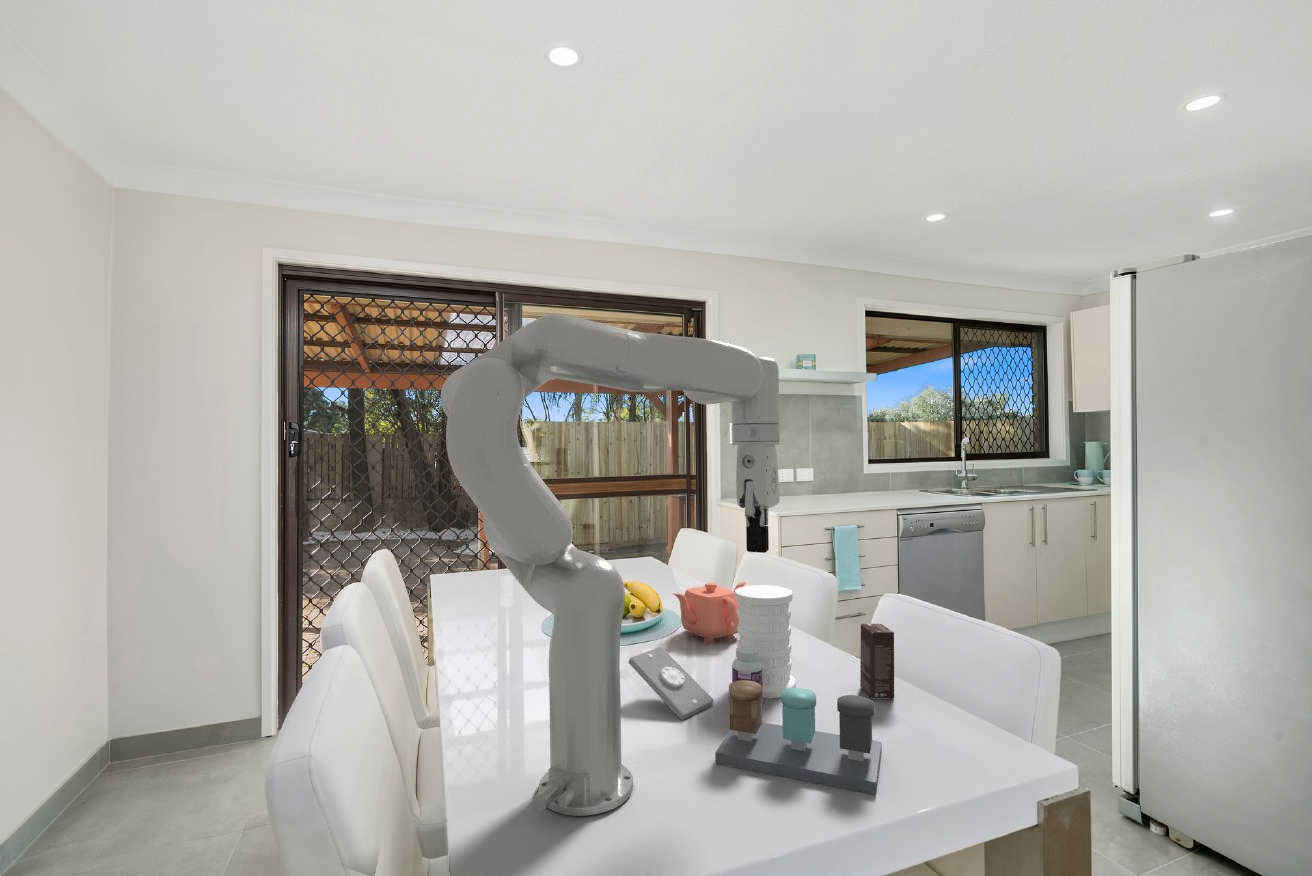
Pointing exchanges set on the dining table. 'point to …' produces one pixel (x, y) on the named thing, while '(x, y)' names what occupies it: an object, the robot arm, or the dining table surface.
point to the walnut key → (745, 706)
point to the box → (877, 661)
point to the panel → (802, 758)
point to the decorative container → (767, 633)
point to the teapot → (710, 611)
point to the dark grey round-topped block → (855, 723)
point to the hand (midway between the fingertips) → (757, 551)
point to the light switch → (671, 682)
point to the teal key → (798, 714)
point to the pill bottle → (747, 666)
